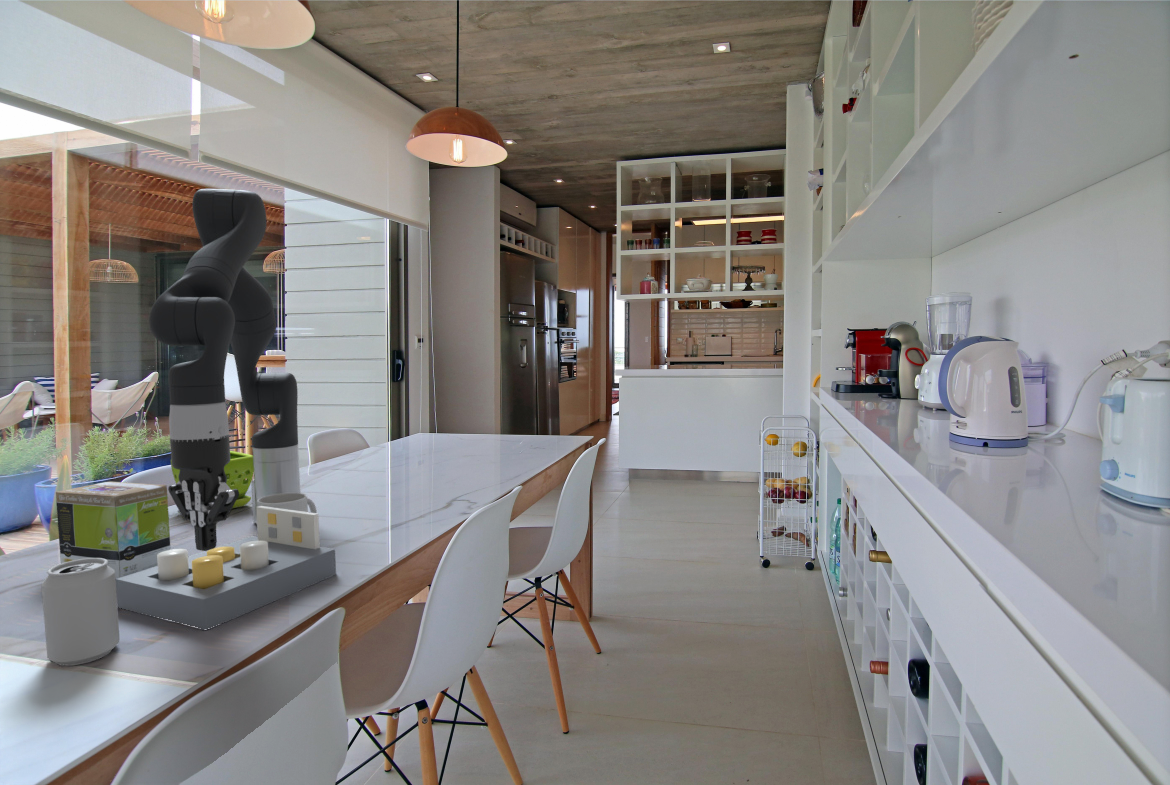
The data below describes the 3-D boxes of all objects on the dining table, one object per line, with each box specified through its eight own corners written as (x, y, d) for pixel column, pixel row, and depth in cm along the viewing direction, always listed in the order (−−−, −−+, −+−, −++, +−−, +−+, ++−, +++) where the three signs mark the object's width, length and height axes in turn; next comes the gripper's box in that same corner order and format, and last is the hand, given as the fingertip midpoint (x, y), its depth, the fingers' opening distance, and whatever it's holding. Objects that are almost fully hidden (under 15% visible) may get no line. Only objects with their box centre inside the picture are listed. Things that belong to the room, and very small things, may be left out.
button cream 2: (235, 577, 105) (234, 546, 105) (257, 568, 109) (255, 539, 109) (253, 580, 104) (251, 549, 103) (274, 572, 107) (273, 542, 107)
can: (73, 642, 89) (67, 555, 88) (132, 640, 90) (126, 553, 89) (32, 670, 82) (24, 575, 81) (96, 667, 82) (89, 573, 81)
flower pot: (171, 510, 159) (168, 458, 158) (230, 498, 170) (227, 449, 169) (200, 518, 151) (196, 463, 150) (259, 505, 162) (256, 454, 161)
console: (117, 607, 101) (113, 540, 100) (254, 559, 122) (251, 503, 121) (205, 630, 92) (201, 557, 91) (336, 574, 114) (333, 514, 113)
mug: (260, 558, 123) (257, 505, 122) (258, 544, 131) (256, 495, 130) (322, 549, 128) (320, 498, 127) (317, 536, 136) (315, 488, 135)
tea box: (174, 563, 121) (169, 483, 120) (119, 582, 111) (113, 496, 110) (115, 555, 126) (110, 478, 124) (58, 573, 116) (52, 490, 115)
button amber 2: (187, 594, 98) (185, 562, 98) (212, 585, 102) (210, 553, 101) (205, 599, 96) (203, 565, 96) (230, 589, 100) (228, 557, 100)
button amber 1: (202, 582, 109) (201, 552, 108) (225, 574, 112) (223, 545, 112) (219, 585, 107) (217, 555, 107) (241, 577, 111) (239, 548, 110)
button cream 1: (153, 586, 101) (151, 555, 101) (178, 578, 105) (176, 547, 105) (170, 590, 100) (168, 558, 99) (195, 581, 103) (193, 550, 103)
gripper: (145, 435, 96) (152, 551, 98) (206, 439, 91) (213, 562, 92) (194, 428, 103) (200, 537, 105) (253, 432, 98) (259, 547, 99)
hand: (206, 549), depth 98 cm, fingers closed
